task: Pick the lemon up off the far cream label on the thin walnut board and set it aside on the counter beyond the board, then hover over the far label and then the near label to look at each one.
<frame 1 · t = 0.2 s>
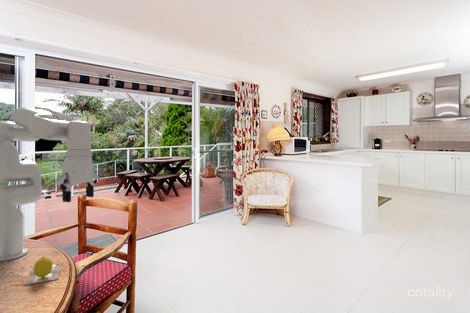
hand: (78, 199, 92), 30 cm above the table, tool pointing down, fingers open, 9 cm apart
lemon: (43, 278, 92), resting on label board
label board: (45, 273, 95), on the table
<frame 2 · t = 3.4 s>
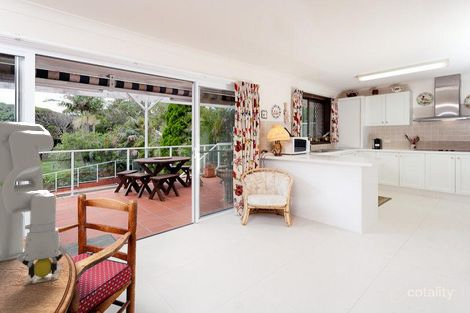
hand: (43, 273, 92), 2 cm above the table, tool pointing down, fingers closed on lemon, 5 cm apart
lemon: (43, 278, 92), resting on label board, touching gripper
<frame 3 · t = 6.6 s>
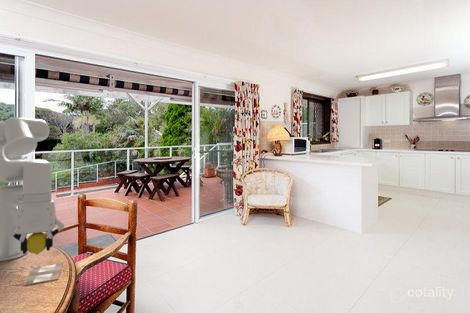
hand: (37, 250, 82), 15 cm above the table, tool pointing down, fingers closed on lemon, 5 cm apart
lemon: (37, 255, 83), point 13 cm above the table, touching gripper
when the fingers open (3 cm above the table, at t = 9.6 s): lemon drops 1 cm, on the table.
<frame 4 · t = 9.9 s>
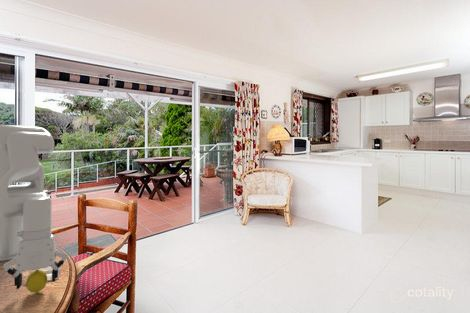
hand: (37, 283, 83), 3 cm above the table, tool pointing down, fingers open, 9 cm apart
lemon: (37, 293, 83), on the table
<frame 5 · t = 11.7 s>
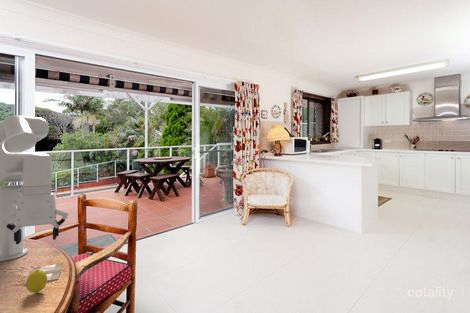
hand: (37, 240, 82), 18 cm above the table, tool pointing down, fingers open, 9 cm apart
nothing on the table moved.
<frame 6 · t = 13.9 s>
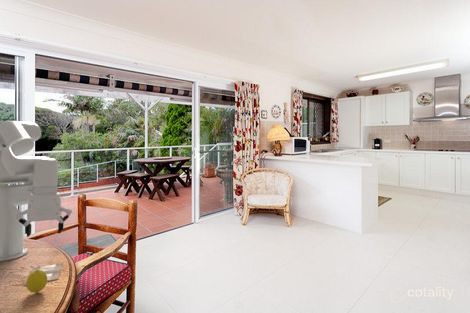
hand: (44, 233, 95), 16 cm above the table, tool pointing down, fingers open, 9 cm apart
nothing on the table moved.
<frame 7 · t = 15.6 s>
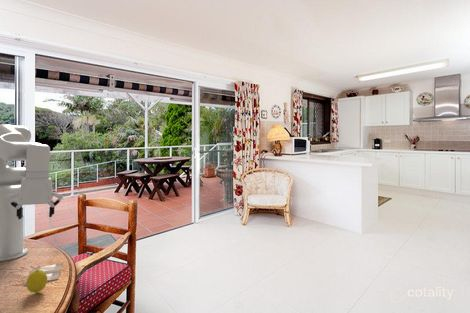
hand: (36, 217, 98), 21 cm above the table, tool pointing down, fingers open, 9 cm apart
nothing on the table moved.
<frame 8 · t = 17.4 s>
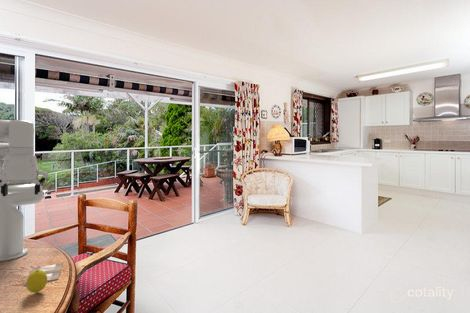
hand: (21, 194, 97), 30 cm above the table, tool pointing down, fingers open, 9 cm apart
nothing on the table moved.
at the end: lemon inside the target area (0.7 cm from its centre), on the table; the gripper is holding nothing; lemon touching table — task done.
